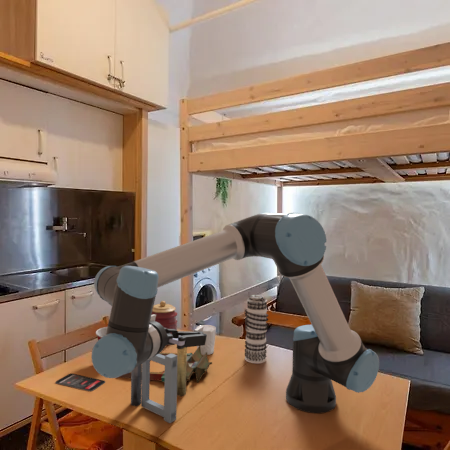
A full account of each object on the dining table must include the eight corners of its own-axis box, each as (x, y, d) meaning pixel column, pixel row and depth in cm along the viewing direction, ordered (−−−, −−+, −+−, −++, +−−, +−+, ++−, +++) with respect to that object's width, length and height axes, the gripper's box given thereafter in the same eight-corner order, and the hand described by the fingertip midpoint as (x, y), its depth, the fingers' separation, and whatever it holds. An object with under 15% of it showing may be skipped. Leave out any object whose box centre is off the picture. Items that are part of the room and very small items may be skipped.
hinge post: (142, 401, 112) (143, 335, 112) (139, 406, 109) (140, 339, 109) (132, 400, 112) (133, 335, 112) (129, 406, 109) (130, 338, 109)
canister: (167, 333, 174) (167, 296, 173) (182, 341, 164) (183, 301, 163) (142, 339, 166) (142, 299, 165) (156, 347, 156) (157, 306, 155)
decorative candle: (238, 357, 148) (240, 295, 147) (257, 352, 153) (259, 292, 152) (253, 365, 140) (254, 300, 139) (271, 360, 145) (273, 297, 144)
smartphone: (91, 390, 117) (54, 382, 123) (91, 393, 117) (54, 384, 123) (106, 381, 124) (70, 373, 129) (106, 383, 124) (70, 375, 129)
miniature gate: (145, 344, 150) (217, 346, 145) (145, 357, 151) (218, 360, 145) (112, 372, 124) (199, 375, 118) (113, 388, 124) (200, 393, 118)
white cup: (194, 349, 155) (194, 325, 155) (212, 347, 158) (212, 324, 157) (198, 356, 148) (198, 331, 147) (217, 354, 150) (218, 330, 150)
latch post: (186, 391, 119) (187, 336, 118) (185, 396, 116) (186, 339, 115) (177, 391, 119) (178, 335, 118) (175, 395, 116) (176, 339, 115)
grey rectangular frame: (140, 408, 108) (141, 347, 107) (146, 405, 110) (147, 345, 109) (170, 423, 101) (171, 358, 100) (176, 419, 103) (177, 355, 102)
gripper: (89, 344, 81) (132, 328, 102) (196, 374, 76) (219, 350, 97) (96, 310, 82) (137, 301, 102) (204, 337, 76) (224, 322, 97)
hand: (177, 325), depth 100 cm, fingers open, 13 cm apart
